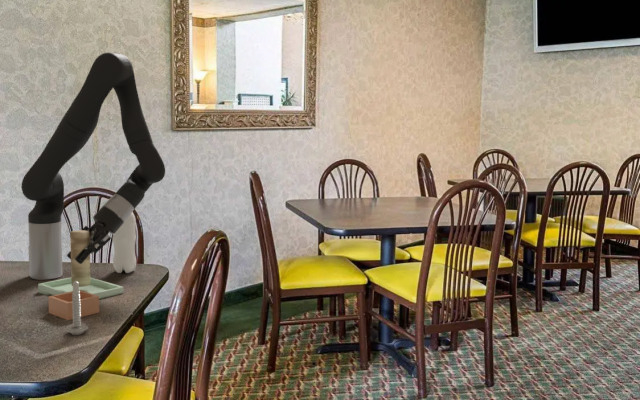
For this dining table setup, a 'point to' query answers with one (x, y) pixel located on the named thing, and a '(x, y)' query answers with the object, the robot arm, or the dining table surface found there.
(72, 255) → the birch pin
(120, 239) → the water bottle
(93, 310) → the terracotta holder
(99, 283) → the pale green tray
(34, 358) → the dining table surface
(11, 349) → the dining table surface
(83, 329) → the screw
